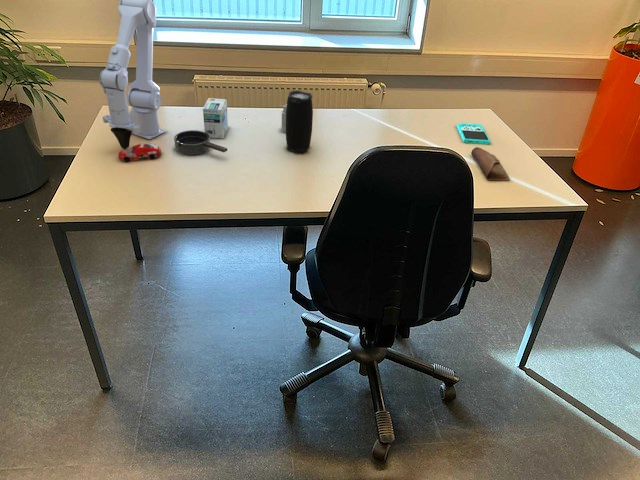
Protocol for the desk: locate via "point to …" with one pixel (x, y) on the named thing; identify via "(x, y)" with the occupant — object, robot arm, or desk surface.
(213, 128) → the light bulb box
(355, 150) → the desk surface
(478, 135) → the handheld game console
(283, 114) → the power adapter
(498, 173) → the sunglasses case
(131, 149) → the race car
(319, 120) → the desk surface
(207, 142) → the pan handle
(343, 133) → the desk surface
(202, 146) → the pan
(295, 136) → the portable speaker
